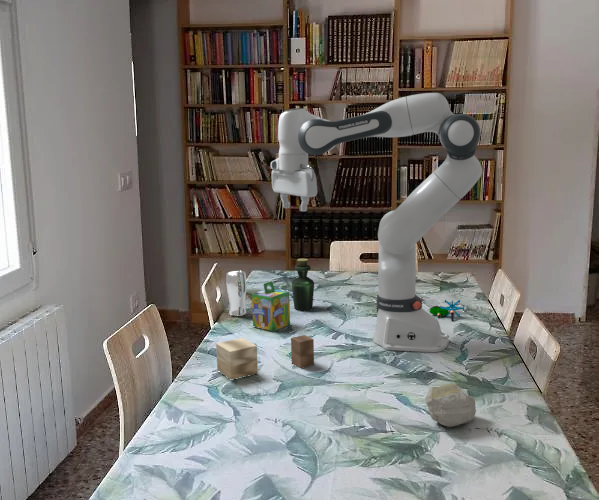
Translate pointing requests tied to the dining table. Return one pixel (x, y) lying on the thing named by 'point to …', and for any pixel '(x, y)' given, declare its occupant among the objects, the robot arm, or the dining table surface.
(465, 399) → the fossil replica
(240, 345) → the pale wooden cube
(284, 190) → the robot arm
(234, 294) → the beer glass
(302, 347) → the walnut block
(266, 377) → the dining table surface
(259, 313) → the chalk box
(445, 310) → the stick construction toy
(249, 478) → the dining table surface
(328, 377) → the dining table surface
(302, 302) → the potion bottle
